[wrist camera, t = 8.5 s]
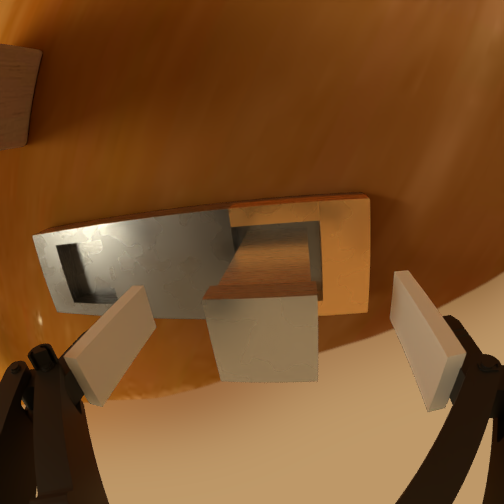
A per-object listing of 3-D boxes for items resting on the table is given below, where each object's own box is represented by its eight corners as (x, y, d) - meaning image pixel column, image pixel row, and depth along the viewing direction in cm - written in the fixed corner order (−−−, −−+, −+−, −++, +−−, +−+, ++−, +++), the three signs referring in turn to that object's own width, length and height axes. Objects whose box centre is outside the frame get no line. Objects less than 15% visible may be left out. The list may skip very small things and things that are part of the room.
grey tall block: (252, 286, 22) (221, 381, 13) (244, 228, 21) (201, 299, 11) (312, 283, 21) (317, 381, 12) (309, 223, 20) (317, 295, 11)
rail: (70, 301, 27) (57, 312, 25) (48, 228, 24) (32, 235, 22) (361, 296, 22) (367, 312, 20) (362, 192, 19) (369, 198, 17)
